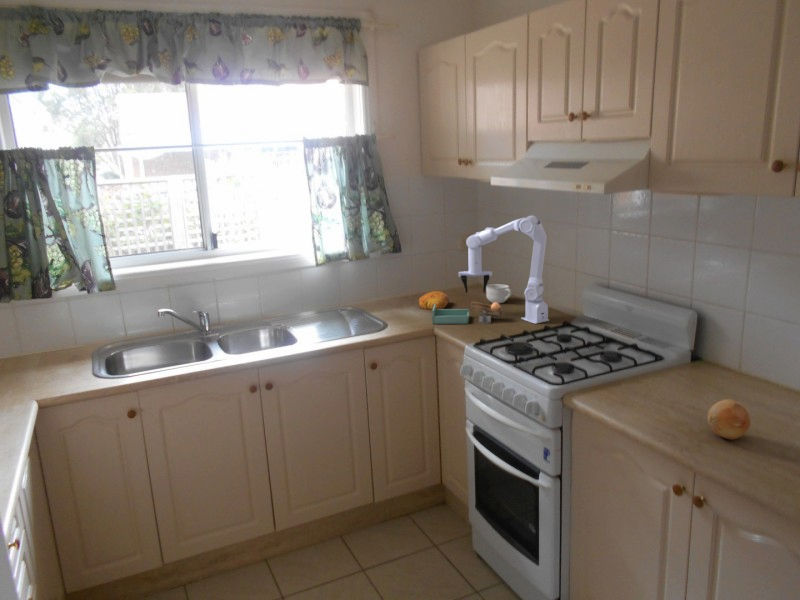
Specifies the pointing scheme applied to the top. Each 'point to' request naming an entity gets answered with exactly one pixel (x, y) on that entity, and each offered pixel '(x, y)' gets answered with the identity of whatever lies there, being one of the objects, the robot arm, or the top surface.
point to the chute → (486, 309)
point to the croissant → (434, 300)
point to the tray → (450, 316)
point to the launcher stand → (484, 318)
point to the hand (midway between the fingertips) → (475, 292)
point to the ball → (495, 306)
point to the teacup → (498, 293)
